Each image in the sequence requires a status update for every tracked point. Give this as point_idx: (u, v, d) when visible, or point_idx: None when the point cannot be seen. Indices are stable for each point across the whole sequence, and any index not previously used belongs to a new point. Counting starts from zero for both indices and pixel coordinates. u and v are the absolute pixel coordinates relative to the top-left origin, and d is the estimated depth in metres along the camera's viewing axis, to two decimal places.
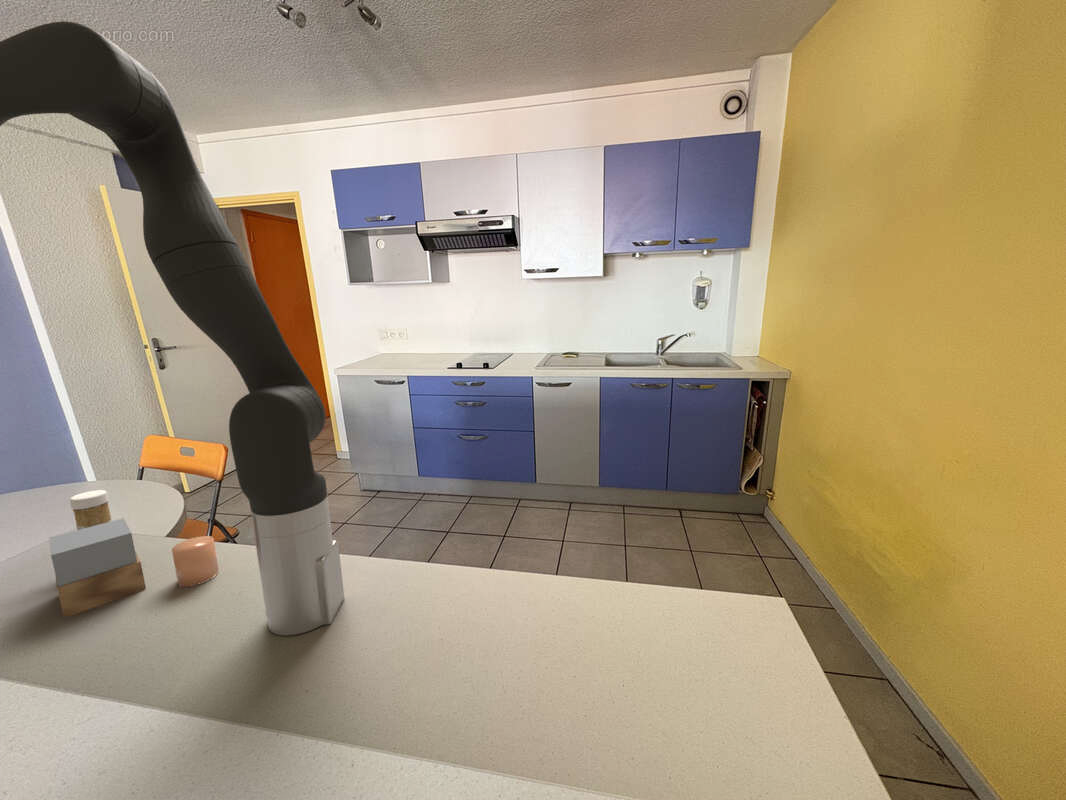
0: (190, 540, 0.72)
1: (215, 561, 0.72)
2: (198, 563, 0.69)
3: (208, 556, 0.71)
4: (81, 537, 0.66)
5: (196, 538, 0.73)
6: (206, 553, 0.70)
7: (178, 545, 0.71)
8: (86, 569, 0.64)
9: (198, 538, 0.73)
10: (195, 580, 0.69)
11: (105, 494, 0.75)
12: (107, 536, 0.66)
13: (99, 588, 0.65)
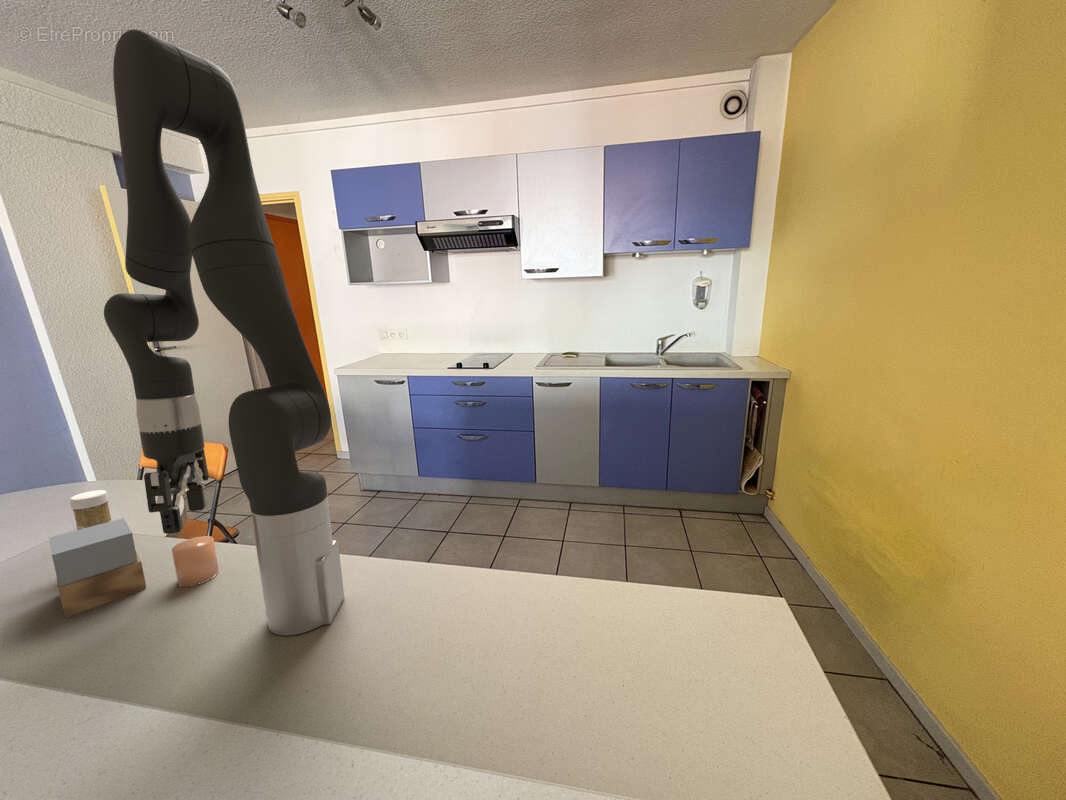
0: (190, 540, 0.72)
1: (215, 561, 0.72)
2: (198, 563, 0.69)
3: (208, 556, 0.71)
4: (81, 537, 0.66)
5: (196, 538, 0.73)
6: (206, 553, 0.70)
7: (178, 545, 0.71)
8: (87, 569, 0.64)
9: (198, 538, 0.73)
10: (195, 579, 0.69)
11: (105, 494, 0.75)
12: (108, 536, 0.66)
13: (100, 587, 0.65)
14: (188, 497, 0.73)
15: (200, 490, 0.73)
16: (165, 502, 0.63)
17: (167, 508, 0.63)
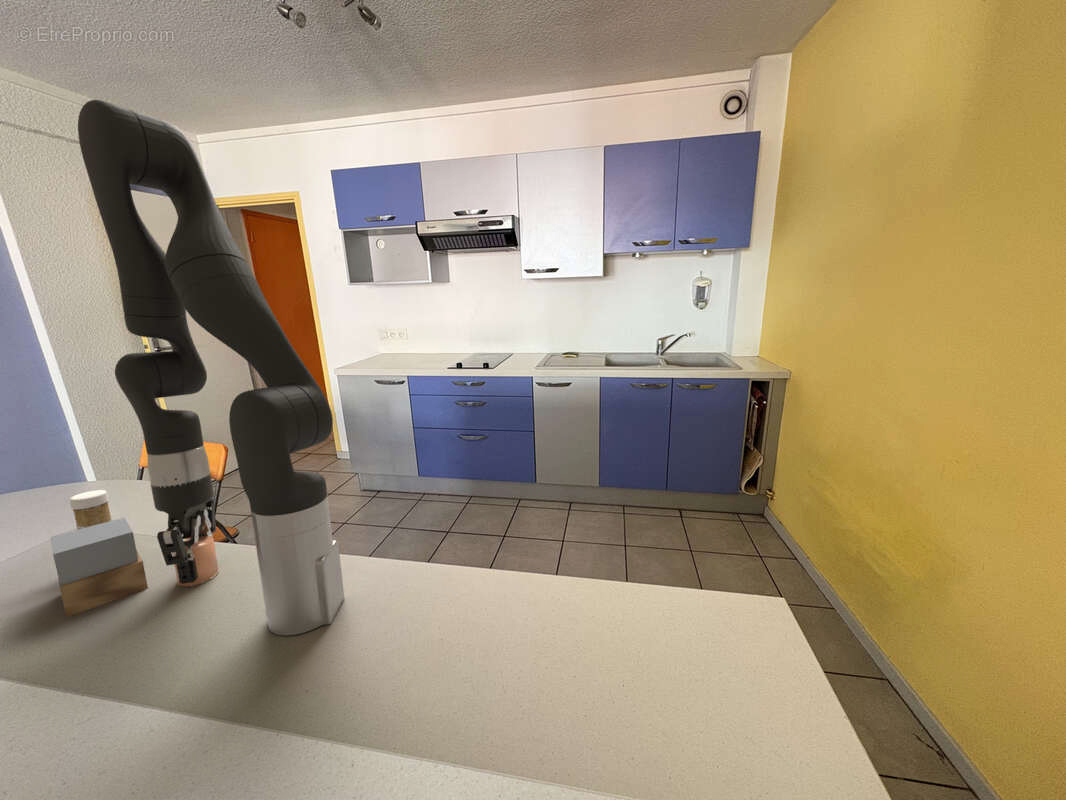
0: None
1: (215, 561, 0.72)
2: (198, 563, 0.69)
3: (208, 556, 0.71)
4: (82, 537, 0.66)
5: None
6: (206, 553, 0.70)
7: None
8: (88, 568, 0.64)
9: (198, 538, 0.73)
10: None
11: (105, 494, 0.75)
12: (109, 535, 0.66)
13: (101, 587, 0.65)
14: None
15: None
16: (181, 557, 0.65)
17: (184, 561, 0.66)
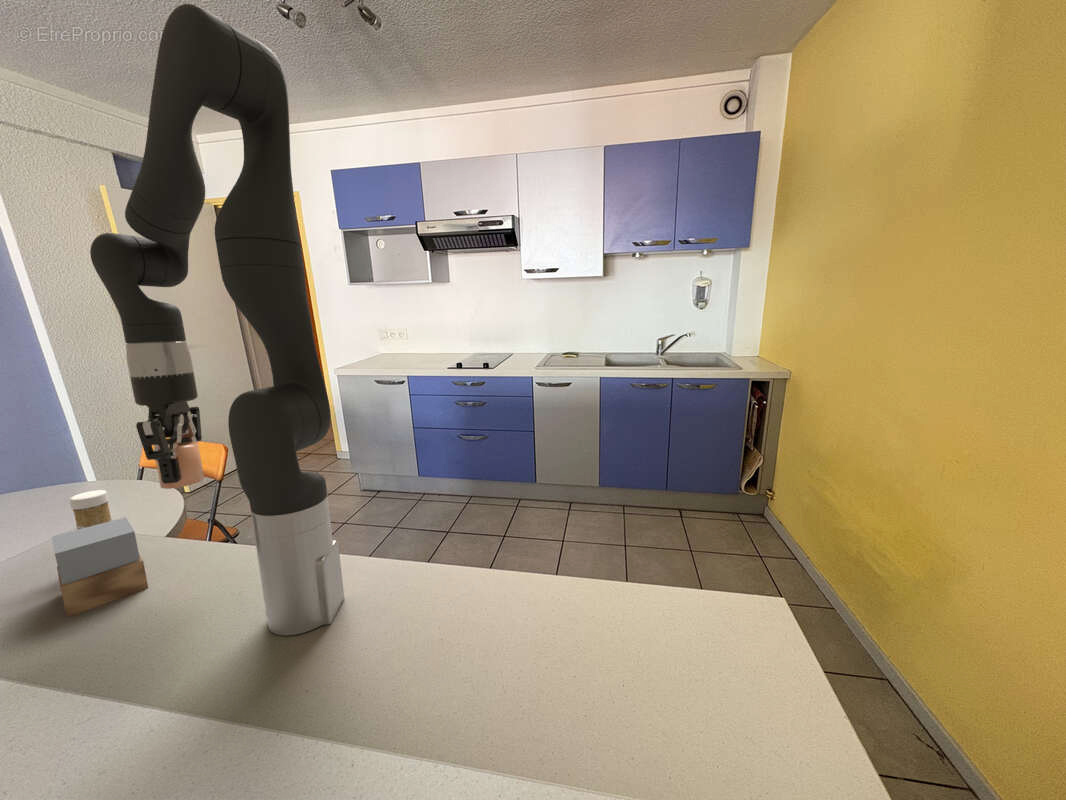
0: None
1: (199, 466, 0.69)
2: (181, 464, 0.67)
3: (192, 459, 0.68)
4: (84, 536, 0.66)
5: (180, 443, 0.70)
6: (190, 455, 0.67)
7: None
8: (90, 567, 0.64)
9: (182, 443, 0.70)
10: (178, 481, 0.67)
11: (105, 494, 0.75)
12: (110, 535, 0.67)
13: (102, 586, 0.65)
14: None
15: None
16: (162, 450, 0.62)
17: (165, 456, 0.63)
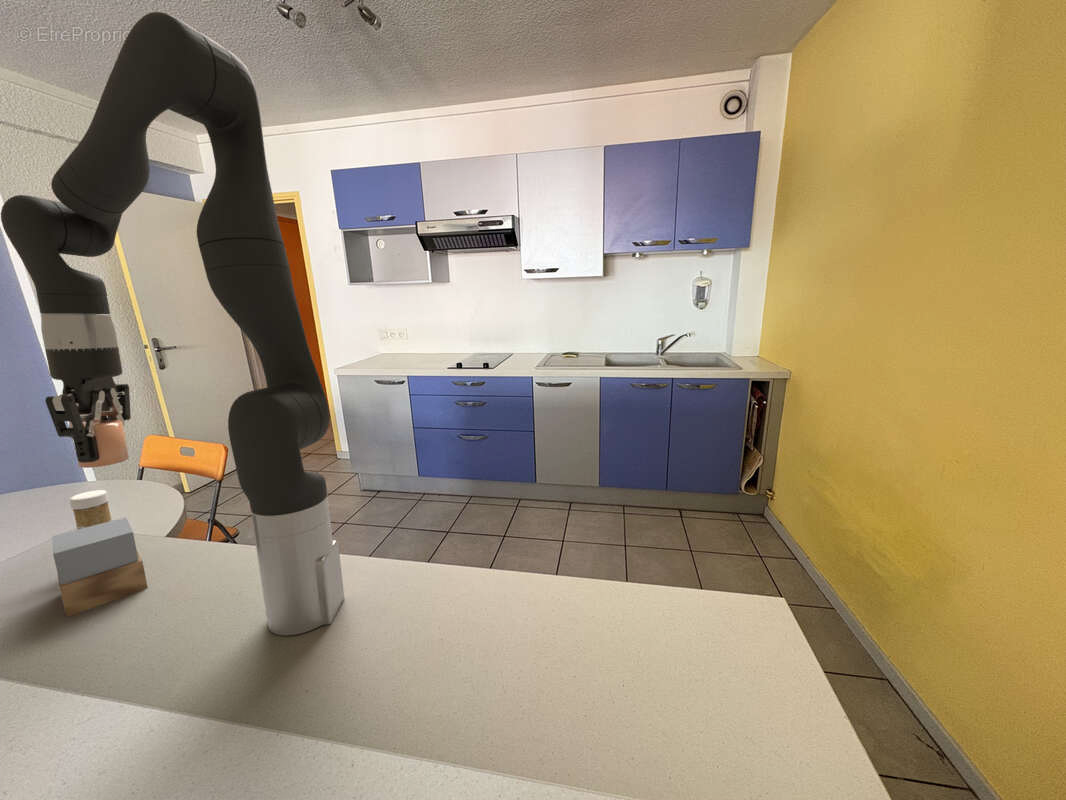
0: (96, 422, 0.66)
1: (122, 445, 0.66)
2: (100, 442, 0.64)
3: (113, 437, 0.65)
4: (83, 536, 0.66)
5: (103, 421, 0.67)
6: (111, 433, 0.64)
7: None
8: (88, 567, 0.64)
9: (105, 421, 0.67)
10: None
11: (105, 494, 0.75)
12: (109, 535, 0.66)
13: (101, 587, 0.65)
14: None
15: None
16: (75, 427, 0.59)
17: (78, 433, 0.60)
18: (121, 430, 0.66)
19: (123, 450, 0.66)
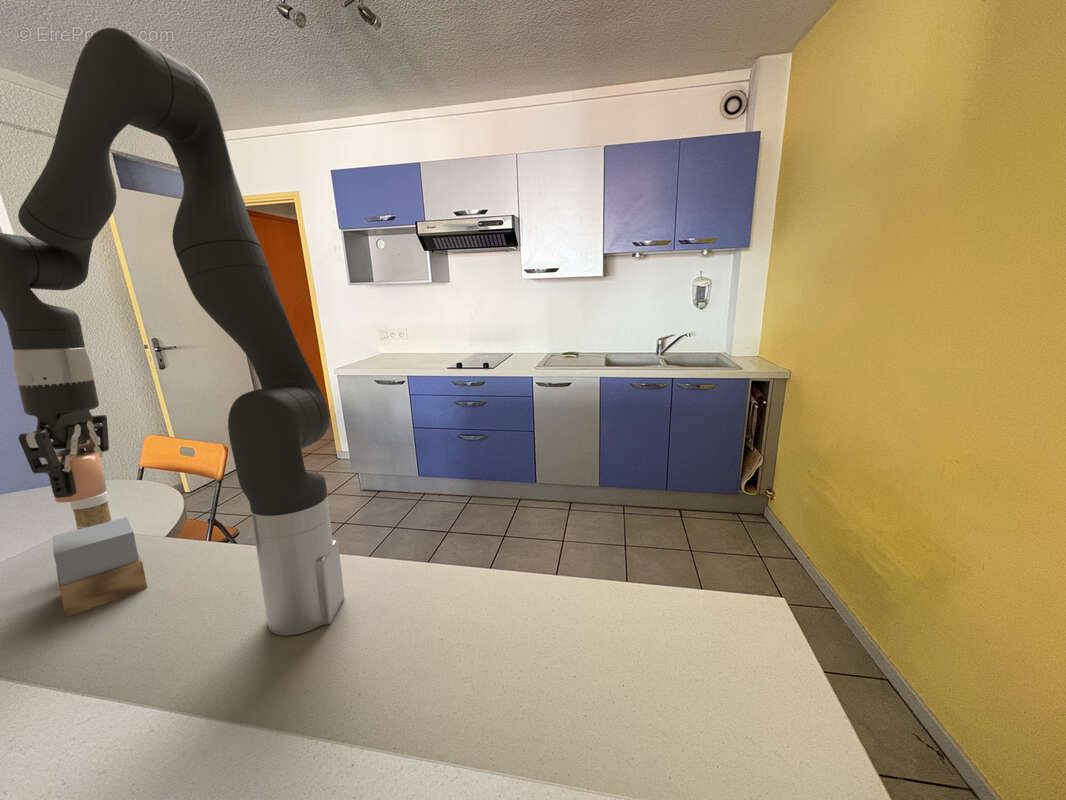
0: None
1: (100, 478, 0.66)
2: (76, 476, 0.63)
3: (89, 471, 0.64)
4: (84, 536, 0.66)
5: (80, 453, 0.66)
6: (87, 467, 0.64)
7: None
8: (88, 567, 0.64)
9: (82, 453, 0.66)
10: (72, 495, 0.63)
11: (105, 494, 0.75)
12: (110, 535, 0.67)
13: (101, 587, 0.65)
14: None
15: None
16: (49, 464, 0.59)
17: (53, 469, 0.59)
18: (98, 463, 0.66)
19: (100, 483, 0.66)
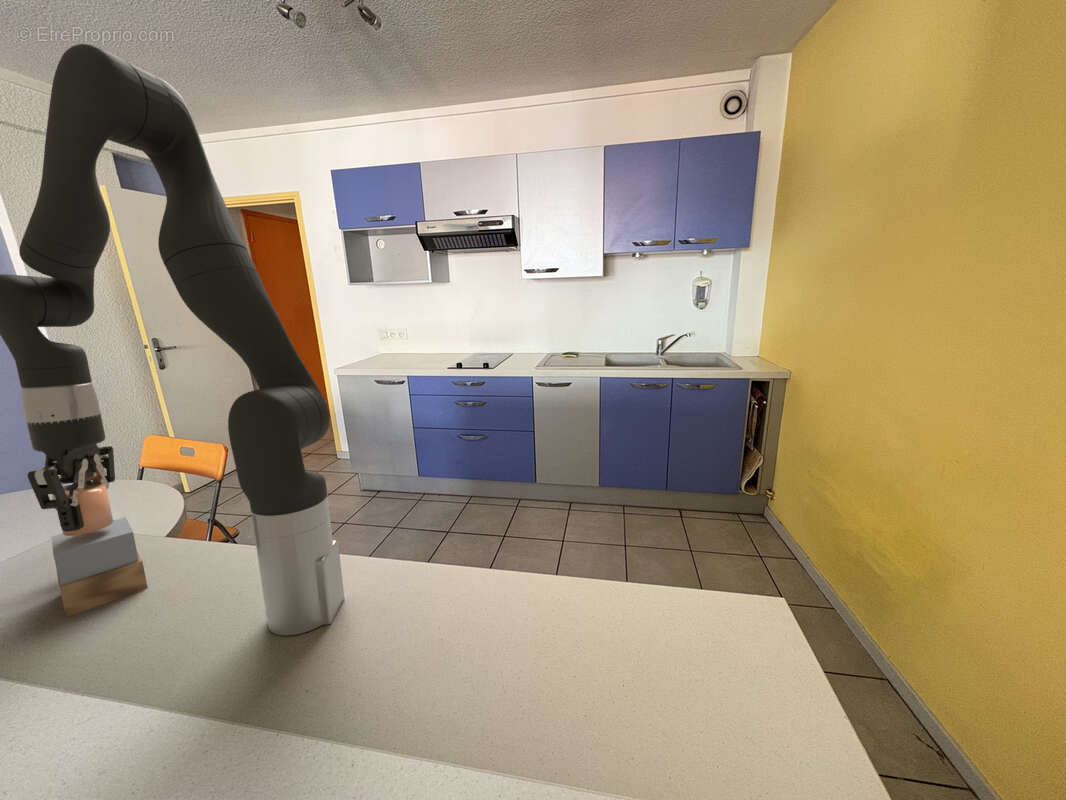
0: None
1: (107, 510, 0.67)
2: (83, 510, 0.64)
3: (97, 504, 0.65)
4: (83, 536, 0.66)
5: (87, 486, 0.67)
6: (94, 500, 0.65)
7: None
8: (88, 568, 0.64)
9: (89, 486, 0.67)
10: None
11: None
12: (109, 535, 0.66)
13: (101, 587, 0.65)
14: None
15: None
16: (58, 500, 0.60)
17: (62, 505, 0.60)
18: (105, 495, 0.67)
19: (107, 515, 0.67)
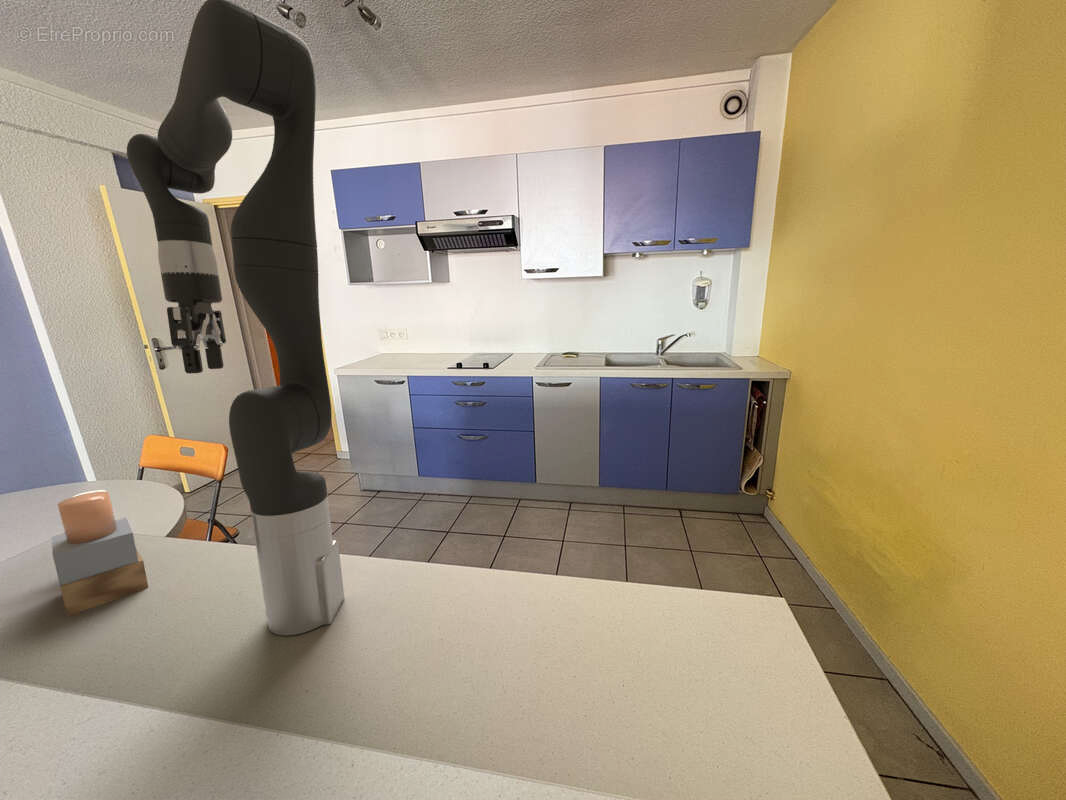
0: (81, 495, 0.67)
1: (111, 517, 0.67)
2: (88, 518, 0.64)
3: (101, 511, 0.66)
4: None
5: (89, 494, 0.68)
6: (99, 507, 0.65)
7: (66, 500, 0.65)
8: (87, 568, 0.64)
9: (91, 493, 0.68)
10: (85, 535, 0.65)
11: None
12: (109, 536, 0.66)
13: (102, 586, 0.65)
14: (207, 355, 0.76)
15: (218, 348, 0.77)
16: (187, 336, 0.66)
17: (189, 342, 0.66)
18: (108, 502, 0.67)
19: (111, 521, 0.67)
